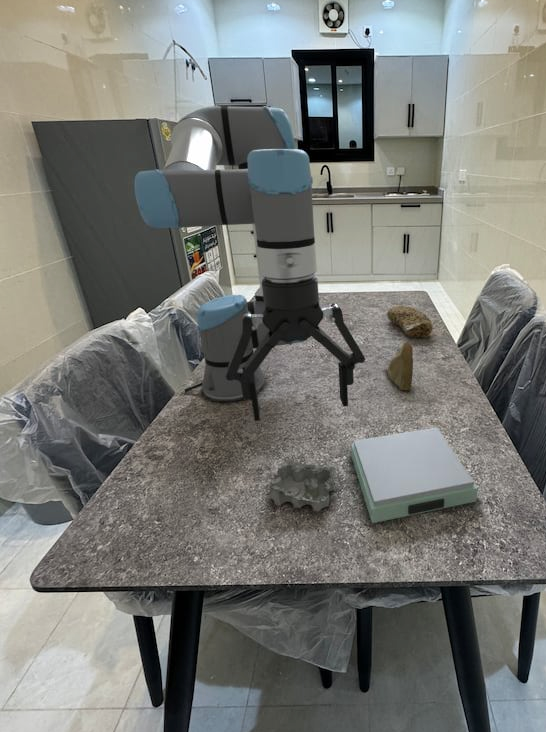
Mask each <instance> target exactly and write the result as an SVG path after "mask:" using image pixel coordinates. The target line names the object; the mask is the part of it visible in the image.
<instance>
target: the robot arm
mask: <svg viewBox="0 0 546 732" xmlns="http://www.w3.org/2000/svg"><path fill="white" fill-rule="evenodd" d="M292 128H293V127H292V125H291V121H290V118H289V116H288V114H287V113H286V112H285V110H283V109H282V108H279V107H268V106H265V105H263V106H229V105H227V106H224V105H223V106H221V105H212V106H206V107H202V108H199V109H197V110H194V111H192V112H189V113H187V114H186V115H185V116H183V117H181V118H180V119H179V120H178V122H177V123H175V125H174V127H173V128H172V131H171V135H170V142H171V143H170V144H171V150H170V152H169V155H168V157H167V159H166V162H165V165H164V168H163V169H159V168H158V169H157V168H155V169H153V170H144V171H143V170H142V171H139V172H138V173H137V174H136V175H135V178H134V194H135V199H136V204H137V207H138V211H139V213H140V216H141V218H142V219H143V221H144V222H145V223H146V225H147V226H149V227H150V228H154V229H166V228H167V229H174V230H176V229H183V228H199V227H201V228H202V227H213V226H215V227H216V226H232V225H233V226H236V225H238V226H239V225H252V230H253V231H252V232H253V238H254V248H255V255H256V263H257V270H258V279H259V287H258V288H257V290H256V291H255V293H254V299H255V300H253V301H248V300H247V298H246V297H245V296H244V295H242V294H229V295H224V296H220V297H216V298H213V299H210V300H208V301H206V302H205V303H203V304H202V305H200V306H199V307H198V309H197V311H196V321H197V325H196V326H197V330H198V334H199V337H200V342H201V348H202V353H203V358H204V362H205V366H204V372H203V378H202V382H200V383H197V384H195V385H192V386H189V387H187V388H184V392H185V393H187V392H189V391H192V390H195V389H196V388H199V387H202V393H203V395H204V397H205V398H207V399H208V400H210V401H213V402H219V403H232V402H238V401H242V400H244V401H251V405H252V406H251V407H252V412H253V418H254V422H257V421H260V420H261V417H260V416H261V413H260V412H261V411H260V404H259V403H260V402H259V398H258V397H259V396H258V393H259V392H260V391H261V390H262V389H263V388H264V387H265V384H266V381H265V380H266V379H265V374H264V372H263V370H262V368H261V365H262V363H263V362H264V360H265V359H266V358H267V357H268V355H269V354H270V353H271V351H272V350H273V349H274V348H275V347H277V346H285V345H286V346H287V345H289V346H291V345H294V344H299V343H304V342H305V341H308V339H310V338H312V339H314V340H315V341H316V342H317V343H320V344H321V345H322V346H323V348H325V349H326V350H327V351H328V352H330V354H332V356H334V357H335V358H336V359H337V360H338V361H339V362H338V365H337V366H338V385H339V399H340V402H341V404H342V407H343V408H345V407H349V394H348V393H349V392H348V389H349V388H348V386H353V384H354V382H355V379H354V371H355V368H356V365H357V364H359V363H360V364H362V363H364V362H365V361H366V358H365V355H364V354H363V352H362V351H361V348H360V346H359V345H358V343H357V342H356V340H355V339H354V336H353V335H352V333H351V332H350V330H349V329H348V326H347V325H346V323H345V322H344V321H345V320H344V316H343V315H344V314H343V310H342V308H341V307H340V305H339V304H338V302H333V303H331V305H330V306H325V307H321V306H320V296H319V294H320V293H319V279H318V277H317V276H316V275H315V274H316V273H317V271H318V267H317V252H316V239H315V238H316V237H315V224H314V203H313V183H314V181H313V180H314V179H313V176H312V173H311V164H310V156H309V155H308V153H307V152H306V151H304V150H303V149H298V148H297V149H296V143H295V138H294V133H293V129H292ZM217 166H228V167H229V166H233V167H237V166H238V169H237V168H236V169H235V168H234V169H232V168H231V169H217ZM324 317H325V318H327V319H328V321H329V322H331V323H333V322H334V324H335V326H336V327H337V330H338V331H339V333H340V335H341V336H342V337H343V340H344V342H345V343H346V344H347V346H348V348H349V349H350V351H351V353H350V354H349V353H347V352H346V351H345V350H344V349H343V348H342V347H341V346H340V345H339V344H338V343H337V342H336V341H334V339H333V338H332V337H330V335H328V334H327V333H326V332H325V331H324V330H323V329H322V328H321V327H320V326H319V325H320V324H321V322H322V321H323V319H324ZM254 349H255V350H254Z"/></svg>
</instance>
